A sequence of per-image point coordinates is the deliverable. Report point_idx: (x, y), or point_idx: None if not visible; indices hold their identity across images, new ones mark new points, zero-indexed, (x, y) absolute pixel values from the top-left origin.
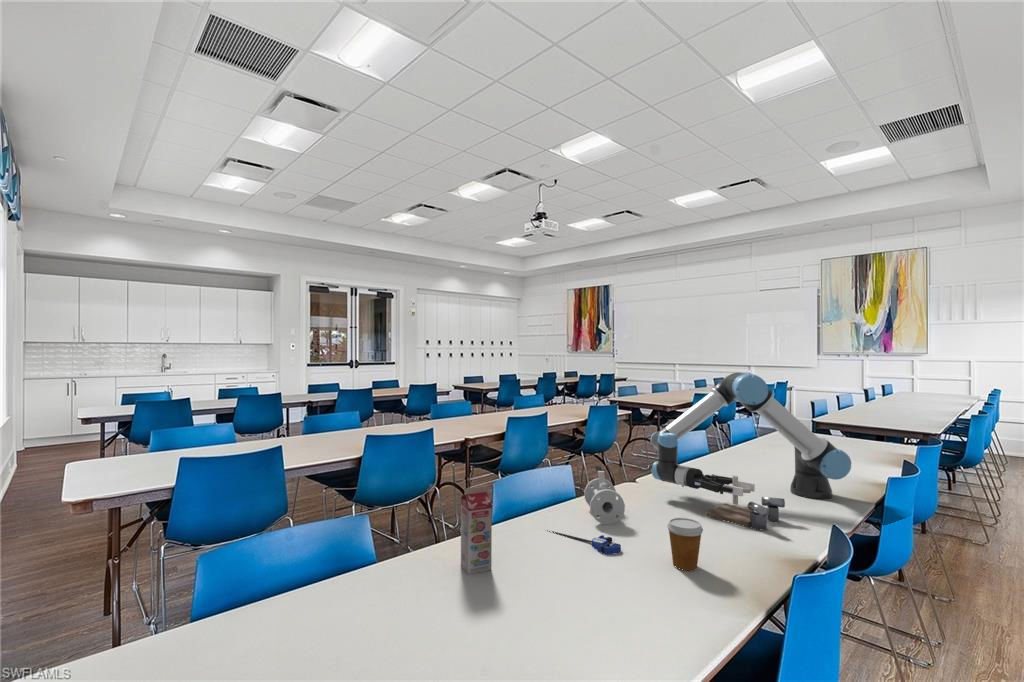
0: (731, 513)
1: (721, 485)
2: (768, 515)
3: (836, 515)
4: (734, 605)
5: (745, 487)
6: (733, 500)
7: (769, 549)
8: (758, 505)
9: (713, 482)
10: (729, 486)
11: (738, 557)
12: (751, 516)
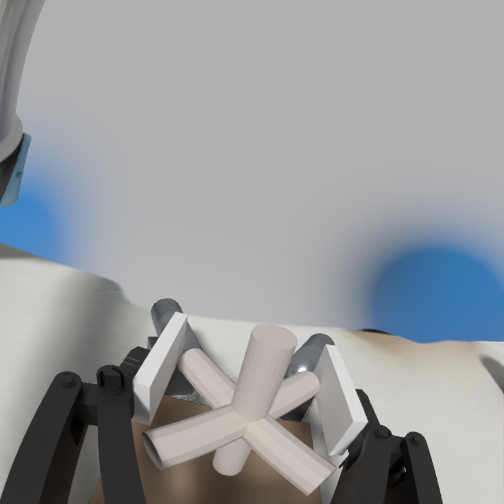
0: (250, 491)
1: (387, 430)
2: (178, 382)
3: (58, 279)
4: (490, 352)
5: (170, 368)
6: (246, 459)
7: (381, 369)
8: (320, 348)
9: (383, 500)
10: (355, 396)
11: (448, 383)
12: (315, 396)
